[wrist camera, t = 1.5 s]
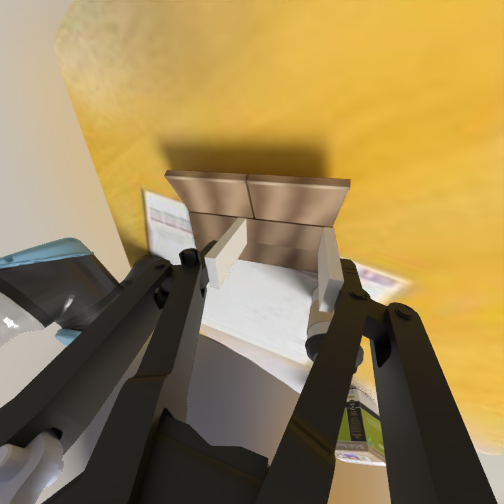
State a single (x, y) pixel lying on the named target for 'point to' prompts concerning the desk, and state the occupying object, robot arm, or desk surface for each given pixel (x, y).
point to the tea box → (360, 432)
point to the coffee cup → (321, 330)
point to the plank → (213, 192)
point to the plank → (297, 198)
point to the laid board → (264, 239)
